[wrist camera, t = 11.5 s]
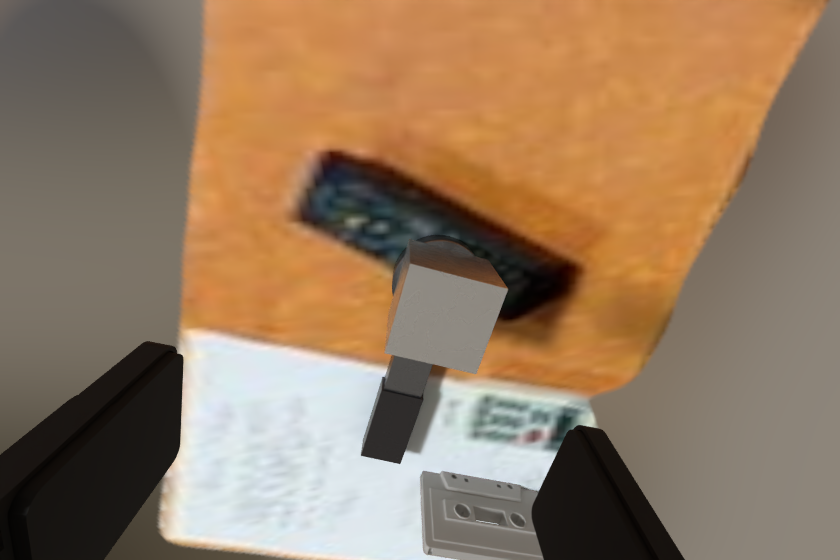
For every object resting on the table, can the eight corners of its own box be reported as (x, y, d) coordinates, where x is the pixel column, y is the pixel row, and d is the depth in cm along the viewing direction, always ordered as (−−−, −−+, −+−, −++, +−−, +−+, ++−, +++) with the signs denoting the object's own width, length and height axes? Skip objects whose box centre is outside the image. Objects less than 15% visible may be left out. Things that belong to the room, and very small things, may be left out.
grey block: (409, 238, 28) (410, 263, 23) (488, 259, 29) (508, 289, 23) (388, 313, 30) (384, 353, 25) (463, 331, 31) (476, 374, 25)
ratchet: (417, 451, 37) (420, 503, 32) (345, 435, 37) (334, 486, 31) (492, 248, 31) (511, 271, 26) (406, 223, 30) (407, 242, 25)
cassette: (417, 480, 39) (420, 558, 32) (422, 465, 38) (426, 541, 31) (532, 500, 40) (560, 579, 33) (539, 486, 40) (569, 564, 32)
